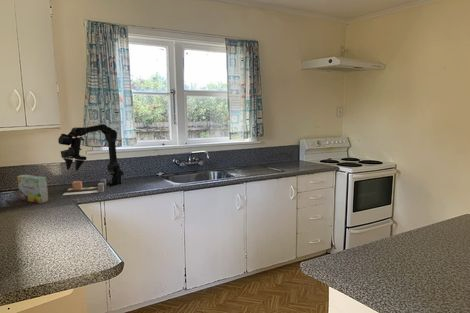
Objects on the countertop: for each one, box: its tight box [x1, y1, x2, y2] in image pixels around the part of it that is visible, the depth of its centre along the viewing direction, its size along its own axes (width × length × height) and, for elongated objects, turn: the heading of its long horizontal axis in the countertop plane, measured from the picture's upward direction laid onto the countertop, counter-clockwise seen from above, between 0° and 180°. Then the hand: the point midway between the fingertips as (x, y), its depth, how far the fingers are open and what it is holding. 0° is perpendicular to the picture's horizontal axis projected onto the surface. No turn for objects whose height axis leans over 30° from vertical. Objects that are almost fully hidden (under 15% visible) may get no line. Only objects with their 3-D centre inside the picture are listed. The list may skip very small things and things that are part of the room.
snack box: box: [16, 174, 50, 204], centre depth 199 cm, size 21×6×15 cm, turn 62°
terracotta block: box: [71, 180, 83, 191], centre depth 224 cm, size 5×5×5 cm
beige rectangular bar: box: [67, 178, 107, 192], centre depth 226 cm, size 24×6×6 cm, turn 105°
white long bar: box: [62, 182, 105, 196], centre depth 214 cm, size 24×6×6 cm, turn 105°
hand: (72, 170), depth 215 cm, fingers open, 9 cm apart
